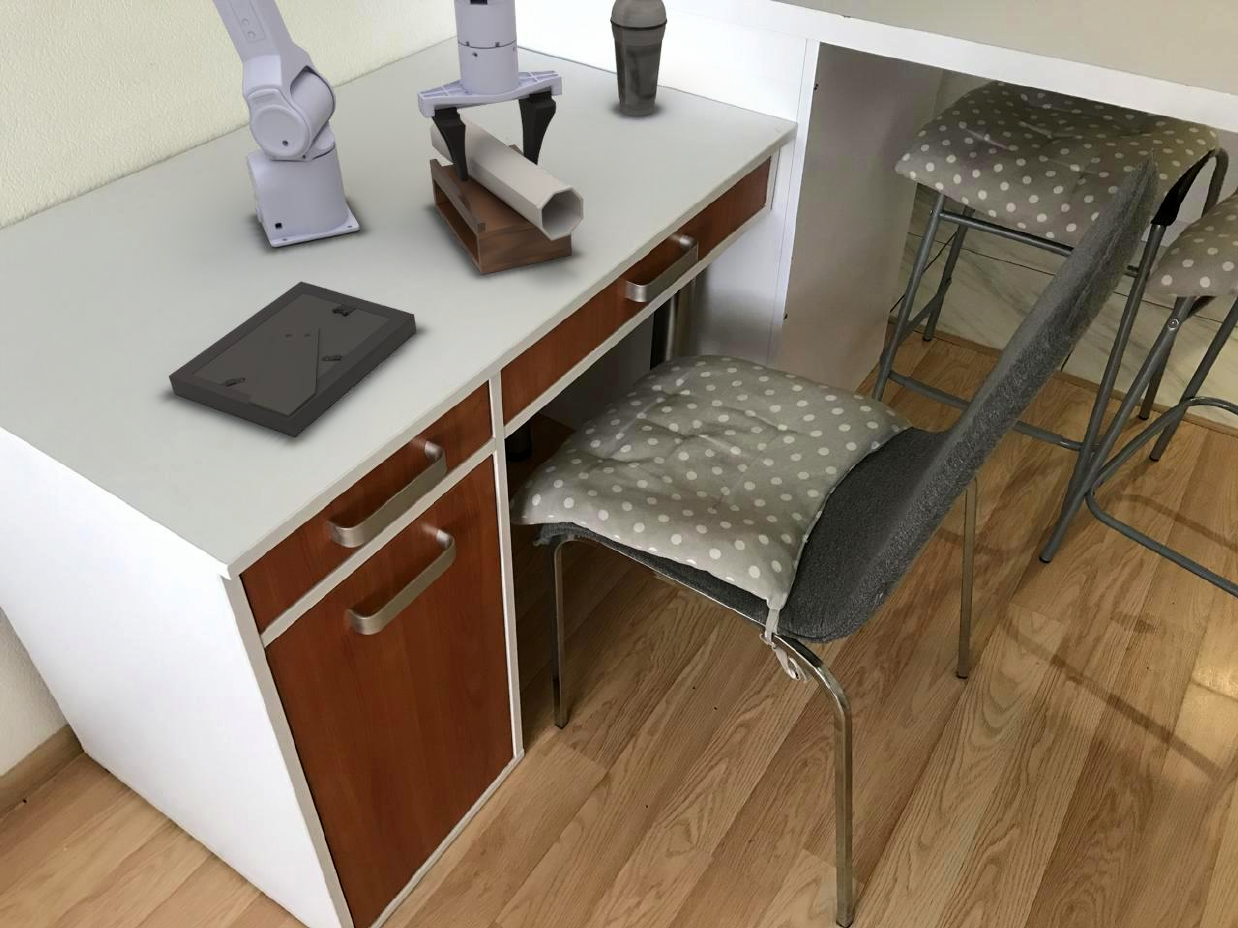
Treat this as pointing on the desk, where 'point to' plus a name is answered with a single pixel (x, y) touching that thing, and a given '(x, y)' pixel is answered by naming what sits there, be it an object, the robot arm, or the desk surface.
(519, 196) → the tube
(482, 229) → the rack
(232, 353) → the picture frame
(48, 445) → the desk surface
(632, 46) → the beverage cup
